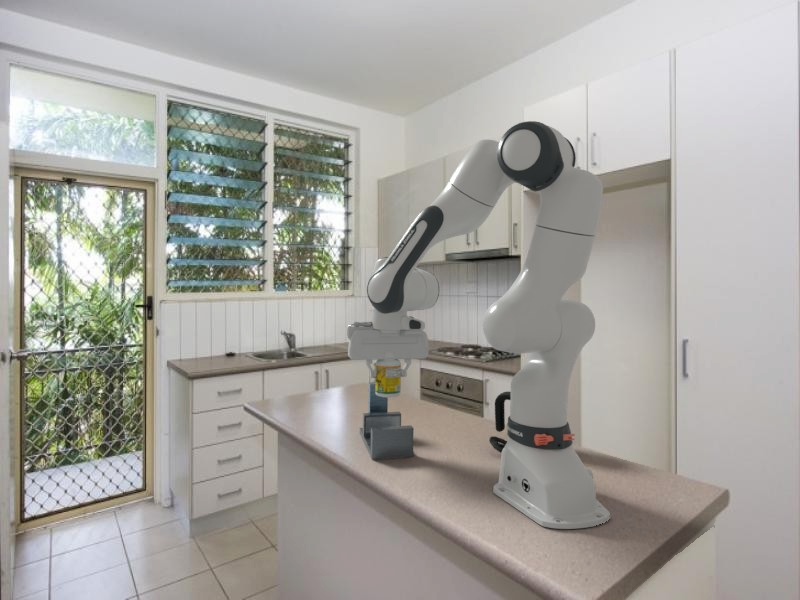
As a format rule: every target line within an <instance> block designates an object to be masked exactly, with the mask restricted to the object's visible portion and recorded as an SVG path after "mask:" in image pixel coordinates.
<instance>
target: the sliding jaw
mask: <svg viewBox="0 0 800 600" xmlns="http://www.w3.org/2000/svg"><path fill="white" fill-rule="evenodd" d="M375 387H376V381H371V382H369V381H368V401H367V402H368V407H367V409H368V411H367V413H366V412H364V413H362V428H363V436H371V428H375V427H392V426H402V413H401V412H400V411H389V412H388V409H389V407H388V406H389V403H388V402H389V400H388V399H389V397H380V396H377V395H376V393H375Z"/></svg>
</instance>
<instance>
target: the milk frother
mask: <svg viewBox="0 0 800 600" xmlns="http://www.w3.org/2000/svg"><path fill="white" fill-rule="evenodd" d="M510 396H511V391H503V392H502V393H500V394H498V395H497V396H496V398H495V400H494V421H495V422H494V423H495V430H496V431H497V432H499V433H501V432H503V431H504V430H505V428H506V425H505V422H506V421H505V416H506V415H505V414H506V413H505V402H506V401H510ZM507 441H508V440H505V439H503V438H501V437H498V436H490V437H489V441H488V442H489V443H490V445H491V446H492V447H493V449H495V450H496V451H497V452H499V453H500V454H501V453H502V450H503V448H504V447H505V445H506V443H507Z"/></svg>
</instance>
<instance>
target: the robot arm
mask: <svg viewBox="0 0 800 600" xmlns="http://www.w3.org/2000/svg"><path fill="white" fill-rule="evenodd" d="M576 155H577V154H576V152H575V148H574V146H573V144H572V143H571V141H570V140H569V139H568V138H567V137H565V136H564V135H563V134H562V133H561V132H560V131H559V130H557V129H556V128H554V127H552V126H549V125H546V124H545V123H543V122H540V121H536V120H535V121H532V120H531V121H530V120H529V121H523V122H519V123H516V124H515V125H513V126H511V127H509V128H508V129H507V131H506V132H505V133H504V134H503V135H502V137H501V139H500V140H499V141H497V140H493V139H481V140H479V141H477V142H476V143H474V144H473V145H472V146H471V148H469V150H468V151H467V152H466V153H465V155H464V157H462V159H461V161H460V162H459V164H458V165H457V166H456V168H455V169H454V171H453V173H452V175H451V176H450V178H449V179H448V182H447V184H446V185H445V186H444V188H443V190H442V191H441V192H440V193H439V194H438V196H437V197H436V198H435V199H434V200H433V202H432V203H431V204H430V205H429V206H427V207H426V208H424V209H423V210H422V211H421V212H420V213H419V214H418V215H417V216H416V217H415V218H414V220H413V221H412V223H411V224H410V225H409V227H408V228H407V230H406V231H405V233H404V234H403V236H402V237H401V238H400V240H399V241H398V243H397V244H396V246H395V247H394V248H393V250H392V252H391V253H390V255H388V256H385V257H381V258H379V259H378V260H376V261H375V264H374V267H373V271H372V274H371V276H370V277H369V280H368V283H367V287H366V294H367V298H368V300H369V302H370V304H371V305H372V307H371V321H365V322H364V321H362V322H359V321H354V322H353V323H351V324H350V325H348V327H347V338H348V345H347V346H348V347H347V348H348V349H347V355H348V358H349V359H351V361H365V365H366V367H367V369H368V370H369V378H371V379H376V377H377V375H376V374H377V371H376V369H373V367H372V365H373V360H374V361H375V360H376V361H377V360H382V359H386V358H385V351H395V358H394V359H398V360H403V362H404V363H405V364H404V365H403V367H402V368H401V378H402V377H403V378H405V377H407V375H408V374H407V372H408V369H409V368H410V366H411V364H412V360H417V359H418V360H420V359H422V360H423V359H424V360H425V359H427V357H428V356H429V353H430V352H429V350H430V349H429V338H428V334H427V333H426V332H425V328H426V323H425V321H423V320H421V319H418V318H414V317H413V316H408V313H407V312H414V311H425V310H428V309H431V308H432V307H434V306H435V304H436V303H437V301H438V300H439V297H440V283H439V281H438V278H437V277H436V276H435V275H434V274H433V273H432V272H431V271H426V270H424V269H421V268H418V267H417V266H418V265H419V264H420V262H421V261H422V259H423V258H424V257H425V255H426V254H427V253H428V252H429V250H430V249H432V248H433V247H434V246H436V245H437V244H439V243H441V242H443V241H446V240H449V239H451V238H455V237H459V236H464V235H468V234H470V233H472V232H475V231H476V230H478V229H479V228H480V227H481V226H482V225H483V224H484V223H485V222H486V220H487V219H488V218H489V216H490V215H491V213H492V211H493V209H494V208H495V206H496V205H497V203H498V201H499V200H500V198H501V196H502V195H503V193H504V192H505V190H507V188H508V187H509V186H511V185H513V184H515V183H516V184H518V185H521V186H523V187H524V188H526V189H529V190H530V191H533V192H537V193H538V195H539V209H538V214H537V218H536V222H535V226H534V230H533V234H532V237H531V241H530V244H529V249H528V252H527V255H526V258H525V261H524V264H523V266H522V268H521V270H520V271H519V274H518V276H516V279H515V280H514V281H513V283H512V285H511V286H510V287H509V289H508V290H507V291H506V292H505V293H504V294H503V295H502V296H501V297H499V299H497V300H496V301H494V302H493V303H492V304H490V305H489V306H488V308H487V309H486V311H485V313H484V316H483V320H482V322H483V323H482V328H483V329H482V330H483V334H484V337H485V340H486V341H487V343H488V344H489V345H490V346H491V347H492V348H493V349H494V350H496V351H499V352H505V353H510V354H515V355H516V354H517V355H519V354H520V355H521V354H522V355H523V354H528V355H527V358H526V361H525V362H524V365H522V367H521V369H519V371H518V372H516V373H515V375H513V377H512V379H511V383H510V392H511V396H510V400H509V402H510V403H509V416H508V418H507V423H506V429H507V434H506V435H507V436H508V438H507V440H506V441H507V443H506V445H505V447H504V448H503V450H502V453H500V454H501V455H500V463H499V465H500V466H499V475H498V482H497V483H495V484H494V485H493V488H492V493H493V494H494V495H496V496H497V497H499V498H500V499H502V500H503V501H505V502H506V503H508V504H509V505H510V506H512V507H513V508H515V509H516V510H518V511H519V512H521V513H522V514H523V515H525V516H527V518H529V519H531V520H532V521H534V522H535V523H537V524H538V525H539V526H542V527H545V528H549V529H550V528H551V529H555V530H557V529H558V530H559V529H560V530H573V529H585V528H592V527H596V525H597V526H600V525H599V524H601V525H603V524H605V522H606V521H607V522H609V521H610V520H611V517H612V516H611V512H610V511H609V510H608V509H607V508H606V507H605V506H604V505H603V504H602V503H601V502H600V501H599V500H598V499H597V495H596V494H597V493H596V485H595V481H594V473H593V471H592V470H591V469H590V468H587V467H586V466H585V464H584V463H583V462H582V460H581V458H580V457H579V455H578V453H577V452H576V450H575V449H574V447H573V442H574V441H575V439H576V438H573V437H574V436H575V435H576V434H575V433H572V430H571V428H570V424H569V422H568V405H569V404H568V403H569V402H568V400H569V388H570V382H571V377H572V375H573V374H572V373H573V370H574V367H575V364H576V362H577V360H578V358H579V355H580V354H581V352H582V350H583V348H584V347H586V345H587V343H588V342H589V341H591V339H592V338H593V336H594V334H595V331H596V320H595V316H594V313H593V311H592V310H591V309H590V307H588V305H586V304H585V303H583V302H580V301H578V300H574V299H571V298H566V297H564V296H565V294H566V293H567V291H568V290H570V288H572V286H574V285H575V284H576V283H578V282H579V281H581V279H582V278H583V277H584V275H585V274H586V271H587V268H588V263H589V260H590V257H591V253H592V251H593V250H592V249H593V246H594V242H595V239H596V235H597V232H598V228H599V222H600V218H601V212H602V206H603V205H602V204H603V194H604V187H603V183H602V180H601V179H600V178H599V177H598V176H597V175H596V174H595V173H593V172H590V170H589V171H588V170H585V169H581V168H576V167H575V166H576V161H577V160H576V159H577V156H576ZM609 519H610V520H609ZM608 520H609V521H608ZM607 522H606V523H607ZM602 523H603V524H602Z"/></svg>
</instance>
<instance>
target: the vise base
mask: <svg viewBox="0 0 800 600" xmlns="http://www.w3.org/2000/svg"><path fill="white" fill-rule="evenodd" d="M359 435H360V437H361V439H362V442H363V443H364V446H365V448H366V451H367V452H368V454H369V457H370V458H371V460H372V461H374V460H375V461H376V460H387V459H388V460H389V459H390V460H391V459H392V460H393V459H402V458H411V457H412V458H413V457H414V427H413V426H412V425H411V424H410V425H401V426H392V427H375V428H371V436H363V427H359Z"/></svg>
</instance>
